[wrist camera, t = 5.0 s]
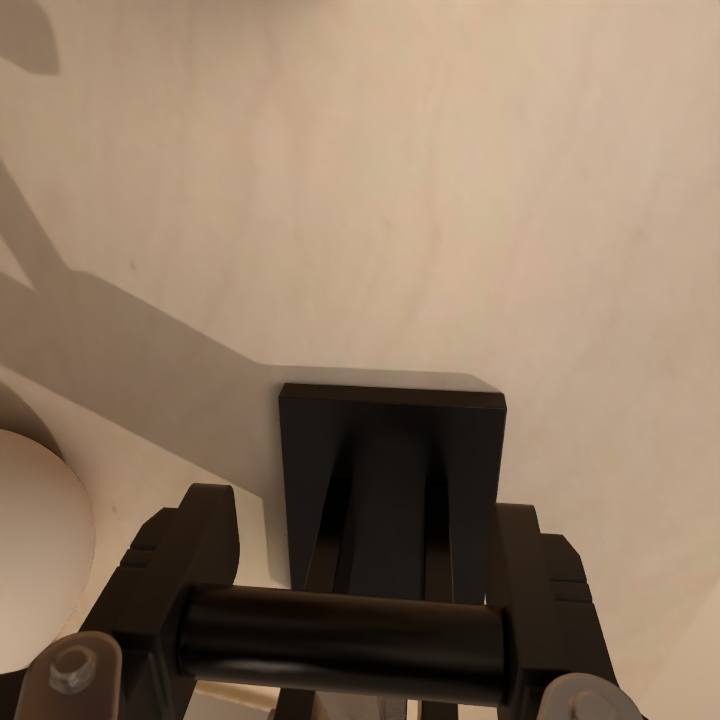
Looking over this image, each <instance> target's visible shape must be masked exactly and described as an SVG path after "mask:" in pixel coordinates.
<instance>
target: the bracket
mask: <svg viewBox="0 0 720 720" xmlns="http://www.w3.org/2000/svg"><path fill="white" fill-rule="evenodd" d="M278 400H279V414H280V429H281V444H282V458H283V473H284V488H285V502H286V517H287V531H288V546H289V561H290V575H291V590H303V591H315V592H328V593H341V594H354V595H367V596H380V597H393V598H405V599H418V600H431V601H444V602H457V603H470V604H483V605H484V600H485V570H486V558H487V549H488V541H489V532H490V524H491V515H492V508H493V504H494V503H496V499H497V490H498V482H499V473H500V465H501V457H502V448H503V440H504V431H505V423H506V414H507V406H506V401H505V396H504V394H502V393H481V392H460V391H438V390H417V389H396V388H375V387H354V386H333V385H312V384H291V383H285V384H284V386H283V388H282V390H281V392H280V395H279V397H278ZM267 720H329V719H328V717H327V715H326V713H325V711H324V708H323V706H322V704H321V702H320V700H319V698H318V695H317V693H316V691H312V690H301V689H290V688H281V689H280V693H279V697H278V702H277V706H276V709H271V711H270V713H269V715H268V718H267ZM417 720H458V704H453V703H442V702H431V701H420V700H418V718H417Z"/></svg>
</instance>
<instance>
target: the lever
mask: <svg viewBox="0 0 720 720" xmlns="http://www.w3.org/2000/svg"><path fill="white" fill-rule="evenodd" d="M177 665H178V669H179V672H180V674H181V675H182V676H183V677H185V678H186V679H193V680H204V681H215V682H225V683H236V684H247V685H258V686H269V687H280V688H290V689H301V690H312V691H316V693H317V695H318V698H319V700H320V702H321V704H322V706H323V708H324V711H325V713H326V715H327V717H328V719H329V720H406V718H407V699H410V700H420V701H431V702H442V703H453V704H464V705H474V706H485V707H496V708H499V707H501V706H503V705H504V704H505V701H506V697H507V692H508V681H509V642H508V630H507V623H506V618H505V614H504V611H503V609H502V608H501V607H499V606H495V605H483V604H470V603H457V602H444V601H431V600H418V599H405V598H393V597H380V596H367V595H354V594H341V593H328V592H315V591H303V590H290V589H277V588H264V587H251V586H238V585H225V584H213V583H201V584H199V585H197V586H195V587H194V588H193V590H192V591H191V593H190V595H189V597H188V599H187V602H186V604H185V607H184V610H183V613H182V617H181V621H180V625H179V631H178V638H177Z"/></svg>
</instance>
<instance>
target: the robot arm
mask: <svg viewBox="0 0 720 720" xmlns="http://www.w3.org/2000/svg"><path fill="white" fill-rule="evenodd" d="M239 555H240V543H239V534H238V525H237V517H236V508H235V499H234V492H233V488H232V487H231V486H230V485H217V484H201V483H193V484H192V485H191V486H190V487H189V489H188V491H187V493H186V494H185V496H184V498H183V500H182V502H181V504H180V505H179V507H178V508H165V507H164V508H162V509H161V510H160V511H159V512H158V513H156V514H155V515H154V516H153V517H151V518H150V519H149V520H148V521H147V522H145V523H144V524H143V525H142V527H141V528H140V530H139V532H138V533H137V535H136V537H135V538H134V540H133V542H132V543H131V545H130V549H128V550H127V551H126V553H125V555H124V556H123V558H122V560H121V561H120V566H119V567H118V566H117V568H116V570H115V571H114V573H113V575H112V576H111V578H110V580H109V581H108V583H107V585H106V586H105V588H104V590H103V591H102V593H101V595H100V596H99V598H98V599H97V601H96V603H95V604H94V606H93V608H92V609H91V611H90V613H89V614H88V616H87V618H86V619H85V621H84V623H83V624H82V626H81V628H80V629H79V631H78V632H77V633H74V634H71V635H68V636H65V637H63V638H61V639H59V640H57V641H55V642H54V643H52V644H51V645H49V646H48V647H46V648H45V649H44V650H43V651H42V652H40V653H39V655H38V656H37V657H36V658H35V659H34V660H33V661H32V663H31V664H30V666H29V667H28V668H26V669H22V670H18V671H14V672H9V673H4V674H0V720H183V718H184V715H185V712H186V710H187V707H188V704H189V702H190V699H191V696H192V694H193V691H194V688H195V685H196V683H197V680H193V679H186V678H185V677H183V676H182V675H181V674H180V672H179V669H178V665H177V638H178V631H179V625H180V621H181V617H182V613H183V610H184V607H185V604H186V602H187V599H188V597H189V595H190V593H191V591H192V590H193V588H194V587H195V586H197V585H199V584H201V583H213V584H225V585H233V582H234V580H235V577H236V573H237V569H238V564H239ZM485 592H486V604H487V605H495V606H499V607H501V608H502V609H503V611H504V614H505V618H506V623H507V630H508V642H509V681H508V692H507V697H506V701H505V704H504V705H503V706H501V707H499V708H497V715H498V720H648V719H647V718H646V717H644V716H643V715H642V714H641V713H640V712H639V710H638V708H637V706H636V705H635V704H634V702H633V701H632V700H631V698H630V697H629V696H628V695H627V694H626V693H625V692H623V691H622V690H621V689H620V687H619V685H618V683H617V680H616V677H615V674H614V671H613V667H612V664H611V660H610V657H609V654H608V650H607V647H606V643H605V640H604V637H603V633H602V630H601V626H600V623H599V619H598V616H597V613H596V609H595V606H594V604H593V603H592V596H591V592H590V589H589V585H588V584H587V578H586V575H585V572H584V568H583V565H582V561H581V558H580V555H579V554H578V553H577V552H576V550H575V549H574V548H573V547H572V546H571V544H570V543H569V542H568V541H567V540H566V538H565V537H564V536H563V535H559V534H544V533H540V529H539V524H538V520H537V515H536V511H535V508H534V506H533V505H525V504H509V503H494V504H493V508H492V515H491V524H490V532H489V541H488V549H487V558H486V570H485Z"/></svg>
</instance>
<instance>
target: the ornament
mask: <svg viewBox="0 0 720 720" xmlns="http://www.w3.org/2000/svg"><path fill="white" fill-rule="evenodd" d="M94 551H95V522H94V516H93V511H92V508H91V504H90V501H89V499H88V496H87V494H86V492H85V490H84V488H83V486H82V484H81V483H80V481H79V479H78V478H77V477H76V475H75V474H74V473H73V471H72V470H71V469H70V468H69V467H68V466H67V465H66V464H65V463H64V462H63V461H62V460H61V459H60V458H59V457H58V456H56V455H55V454H54V453H52V452H51V451H50V450H48V449H47V448H45V447H44V446H42V445H40V444H39V443H37V442H35V441H33V440H31V439H29V438H27V437H25V436H22V435H20V434H17V433H14V432H11V431H7V430H3V429H0V674H4V673H9V672H14V671H18V670H21V669H22V668H24V667H25V666H26V665H27V664H29V663H30V662H31V661H32V660H33V659H35V658H36V657H37V656H38V655H39V653H40V652H42V651H43V650H44V649H45V648H46V647H47V646H48V645H49V644H50V643H51V642H52V641H53V639H54V638H55V637H56V636H57V635H58V633H59V632H60V631H61V629H62V628H63V627H64V625H65V624H66V622H67V621H68V619H69V618H70V616H71V615H72V613H73V611H74V609H75V608H76V606H77V604H78V602H79V600H80V598H81V596H82V593H83V591H84V589H85V586H86V584H87V581H88V578H89V575H90V571H91V567H92V563H93V558H94Z"/></svg>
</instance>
